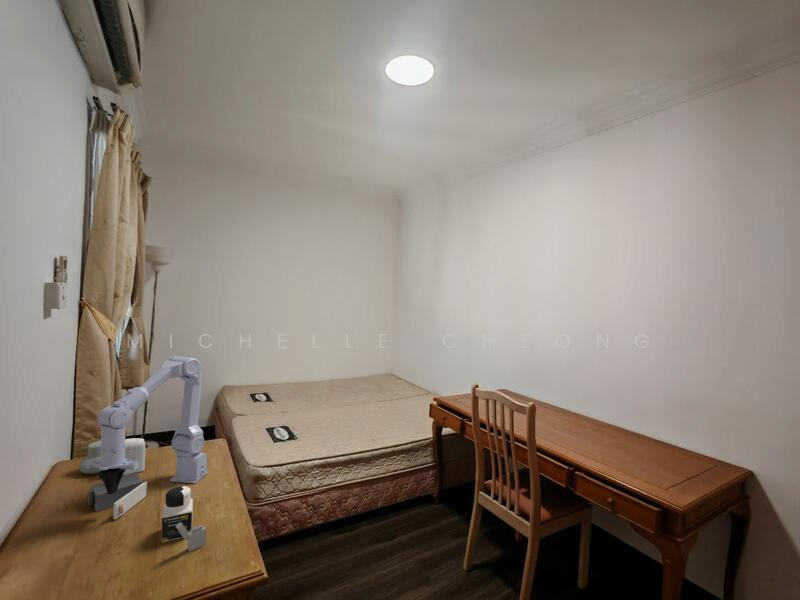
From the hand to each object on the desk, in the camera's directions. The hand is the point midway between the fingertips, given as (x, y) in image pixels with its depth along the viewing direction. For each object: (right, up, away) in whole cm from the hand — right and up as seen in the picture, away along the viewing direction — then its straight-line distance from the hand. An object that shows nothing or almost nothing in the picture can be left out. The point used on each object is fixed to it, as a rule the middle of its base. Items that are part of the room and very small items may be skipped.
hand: (112, 492), depth 113 cm
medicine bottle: (+23, -8, -7) cm, 26 cm away
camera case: (-5, -6, +9) cm, 12 cm away
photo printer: (-14, -6, +26) cm, 30 cm away
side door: (+3, -6, +4) cm, 8 cm away
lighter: (+31, -8, -14) cm, 35 cm away
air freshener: (-26, -6, +27) cm, 38 cm away
